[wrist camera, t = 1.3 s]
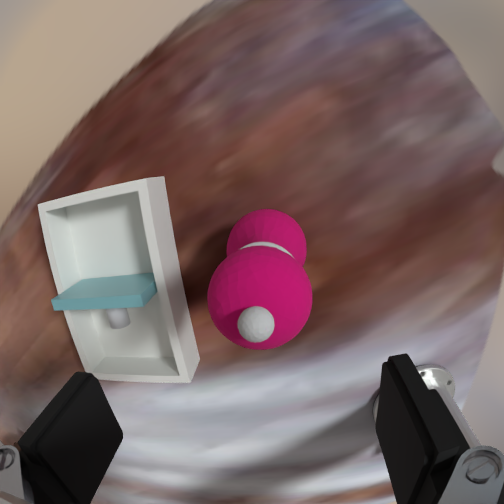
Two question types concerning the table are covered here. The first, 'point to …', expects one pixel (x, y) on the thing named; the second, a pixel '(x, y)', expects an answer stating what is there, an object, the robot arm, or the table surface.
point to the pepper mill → (262, 282)
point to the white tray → (117, 264)
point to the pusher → (109, 296)
